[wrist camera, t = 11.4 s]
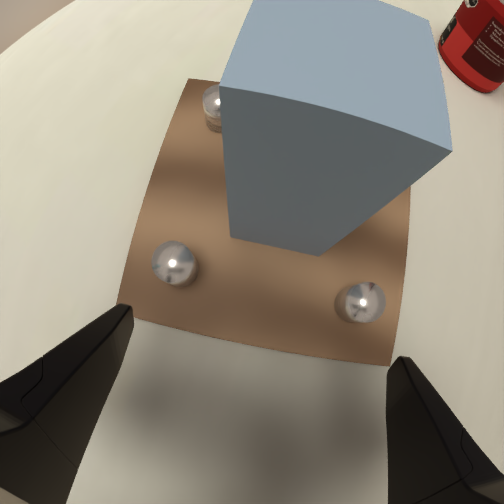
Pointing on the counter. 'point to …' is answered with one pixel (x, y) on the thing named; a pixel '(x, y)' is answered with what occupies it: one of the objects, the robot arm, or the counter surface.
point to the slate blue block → (327, 118)
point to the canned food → (476, 44)
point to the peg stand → (256, 259)
